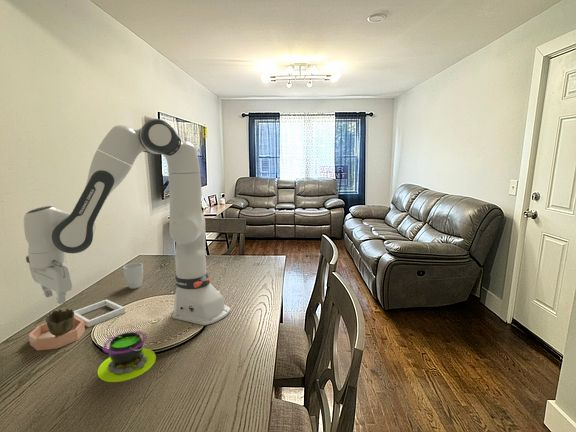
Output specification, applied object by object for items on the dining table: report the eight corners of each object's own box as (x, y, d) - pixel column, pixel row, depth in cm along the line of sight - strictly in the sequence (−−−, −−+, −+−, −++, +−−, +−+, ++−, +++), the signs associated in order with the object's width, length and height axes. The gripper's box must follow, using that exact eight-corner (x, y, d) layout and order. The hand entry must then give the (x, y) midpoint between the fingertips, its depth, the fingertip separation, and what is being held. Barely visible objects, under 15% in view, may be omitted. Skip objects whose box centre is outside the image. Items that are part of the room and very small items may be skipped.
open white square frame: (124, 312, 120) (124, 307, 120) (88, 327, 109) (88, 322, 109) (107, 303, 127) (106, 299, 127) (71, 317, 116) (70, 312, 116)
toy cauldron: (164, 364, 90) (161, 329, 88) (106, 391, 80) (101, 351, 78) (144, 343, 100) (142, 310, 98) (91, 363, 90) (86, 328, 88)
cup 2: (43, 345, 97) (41, 322, 95) (52, 330, 104) (50, 309, 102) (71, 342, 100) (69, 320, 98) (78, 328, 106) (77, 307, 104)
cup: (148, 283, 148) (146, 263, 147) (138, 290, 140) (136, 269, 139) (131, 282, 149) (130, 262, 147) (121, 289, 141) (119, 268, 139)
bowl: (91, 334, 105) (89, 324, 105) (42, 354, 94) (41, 344, 93) (72, 322, 113) (70, 313, 112) (25, 340, 101) (23, 330, 101)
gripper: (74, 260, 95) (81, 302, 98) (46, 251, 107) (52, 289, 109) (50, 266, 90) (58, 311, 93) (23, 256, 101) (30, 296, 104)
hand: (55, 299), depth 101 cm, fingers open, 8 cm apart
